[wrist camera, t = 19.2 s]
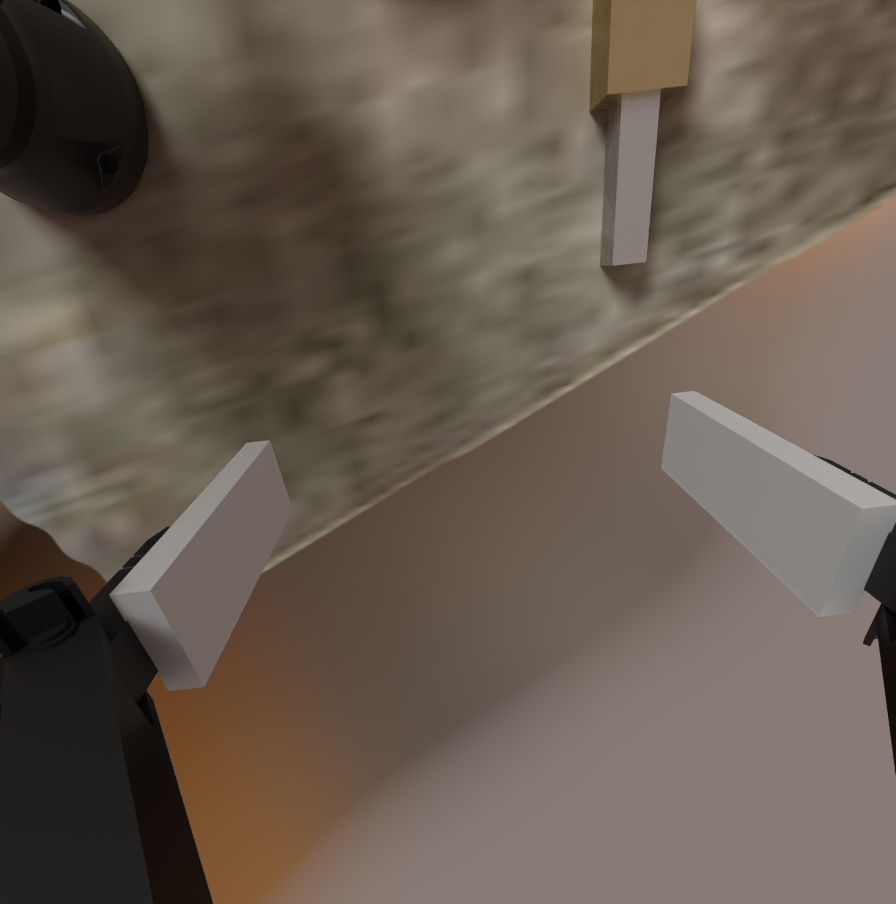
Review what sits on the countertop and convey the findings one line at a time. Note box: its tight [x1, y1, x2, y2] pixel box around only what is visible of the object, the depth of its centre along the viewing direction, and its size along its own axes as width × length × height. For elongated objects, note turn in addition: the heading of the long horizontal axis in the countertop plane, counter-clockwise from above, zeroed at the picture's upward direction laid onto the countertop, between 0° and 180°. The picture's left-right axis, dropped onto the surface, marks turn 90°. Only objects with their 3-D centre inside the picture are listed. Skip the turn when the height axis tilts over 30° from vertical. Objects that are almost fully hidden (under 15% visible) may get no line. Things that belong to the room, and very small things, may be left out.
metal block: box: [589, 0, 696, 266], centre depth 34 cm, size 6×20×4 cm, turn 6°
